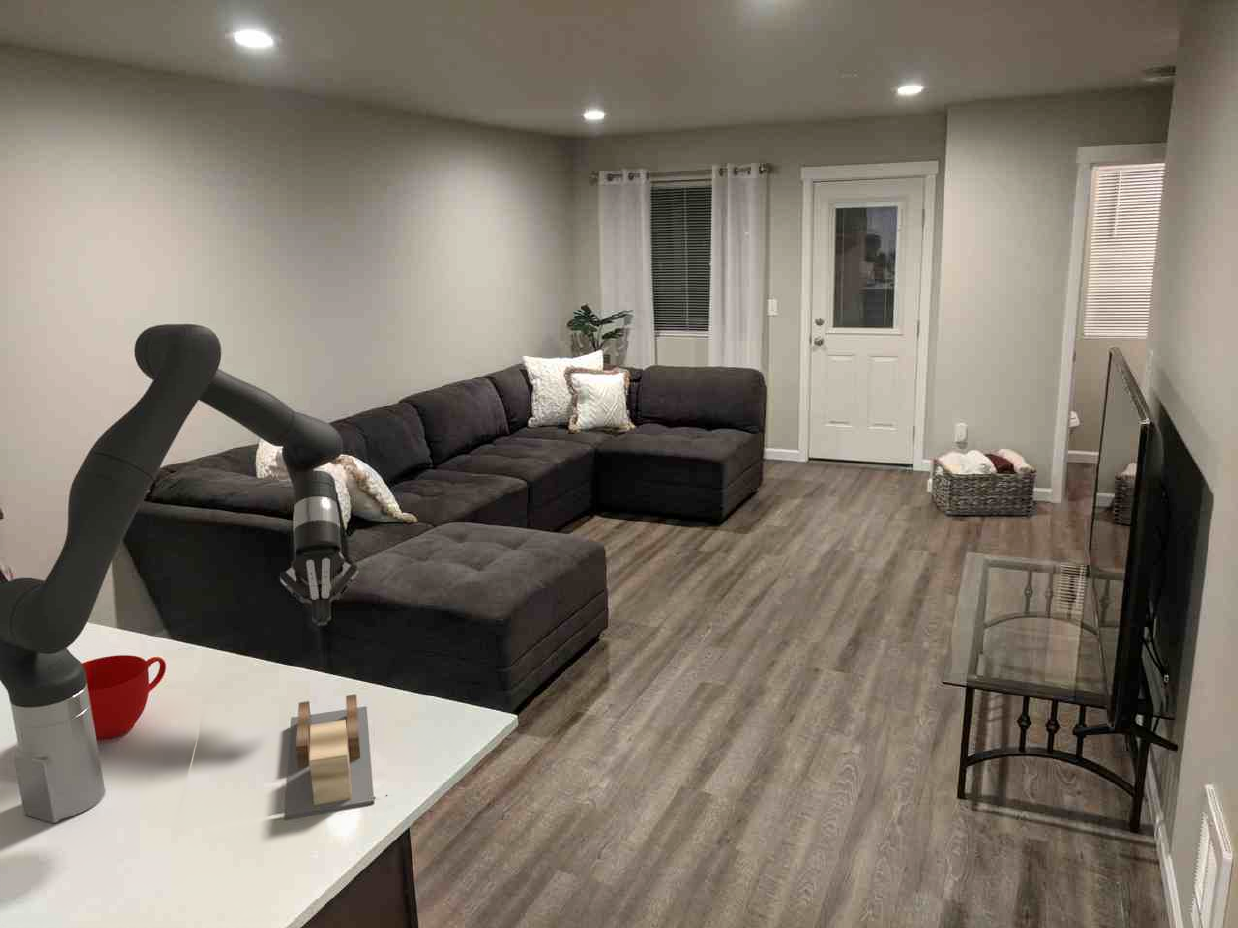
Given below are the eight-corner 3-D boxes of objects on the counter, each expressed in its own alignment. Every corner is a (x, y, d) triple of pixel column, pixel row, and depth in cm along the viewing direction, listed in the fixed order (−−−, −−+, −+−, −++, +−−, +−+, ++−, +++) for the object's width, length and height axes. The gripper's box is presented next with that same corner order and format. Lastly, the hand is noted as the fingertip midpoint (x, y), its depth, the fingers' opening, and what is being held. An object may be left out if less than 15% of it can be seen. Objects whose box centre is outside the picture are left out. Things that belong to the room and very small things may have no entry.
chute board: (374, 803, 132) (373, 800, 132) (284, 819, 129) (284, 816, 129) (366, 708, 158) (366, 706, 158) (291, 720, 155) (291, 717, 155)
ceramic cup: (193, 710, 158) (186, 656, 156) (96, 758, 144) (86, 699, 142) (146, 692, 165) (139, 639, 162) (49, 736, 151) (39, 680, 148)
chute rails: (360, 757, 143) (358, 736, 142) (298, 767, 140) (296, 746, 139) (357, 713, 156) (356, 694, 155) (300, 721, 153) (298, 702, 152)
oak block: (351, 798, 133) (347, 754, 131) (314, 804, 131) (309, 760, 129) (349, 761, 142) (345, 719, 140) (315, 766, 140) (310, 724, 139)
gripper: (273, 522, 155) (276, 619, 147) (355, 515, 159) (363, 609, 150) (278, 542, 162) (281, 637, 153) (357, 535, 165) (364, 627, 157)
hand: (322, 623), depth 152 cm, fingers closed
